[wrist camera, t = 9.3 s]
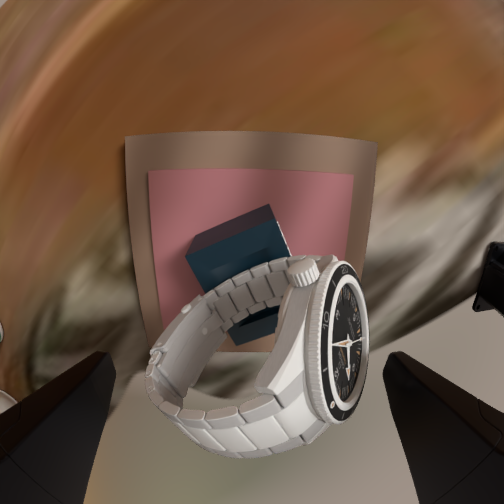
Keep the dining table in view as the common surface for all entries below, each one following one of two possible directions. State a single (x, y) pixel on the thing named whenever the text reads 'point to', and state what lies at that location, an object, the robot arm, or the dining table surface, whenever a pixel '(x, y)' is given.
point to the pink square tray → (240, 205)
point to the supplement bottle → (1, 332)
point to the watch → (260, 325)
